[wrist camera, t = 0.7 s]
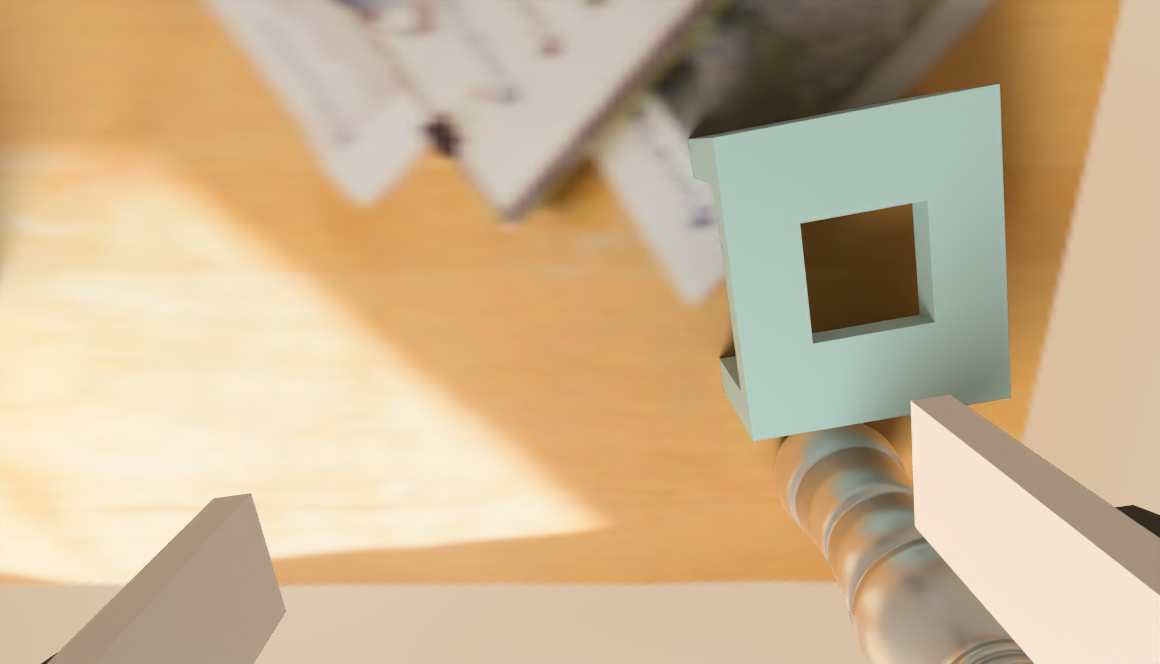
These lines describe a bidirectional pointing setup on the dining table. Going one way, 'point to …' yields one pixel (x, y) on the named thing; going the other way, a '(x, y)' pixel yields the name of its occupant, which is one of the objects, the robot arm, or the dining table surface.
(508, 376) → the dining table surface
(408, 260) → the dining table surface
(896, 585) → the plastic bottle
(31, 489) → the dining table surface
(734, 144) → the bridge
